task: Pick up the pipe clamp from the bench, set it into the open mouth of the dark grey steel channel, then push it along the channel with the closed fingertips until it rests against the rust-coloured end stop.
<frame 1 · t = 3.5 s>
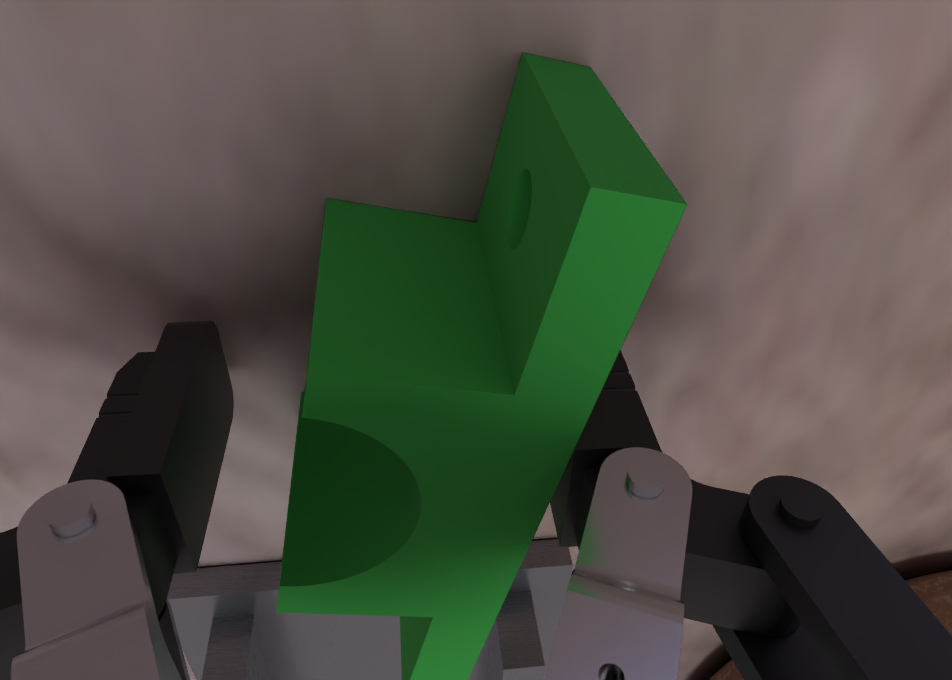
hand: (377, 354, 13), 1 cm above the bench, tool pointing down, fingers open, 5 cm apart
planter: (878, 669, 27), on the bench
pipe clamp: (414, 323, 14), on the bench, touching gripper
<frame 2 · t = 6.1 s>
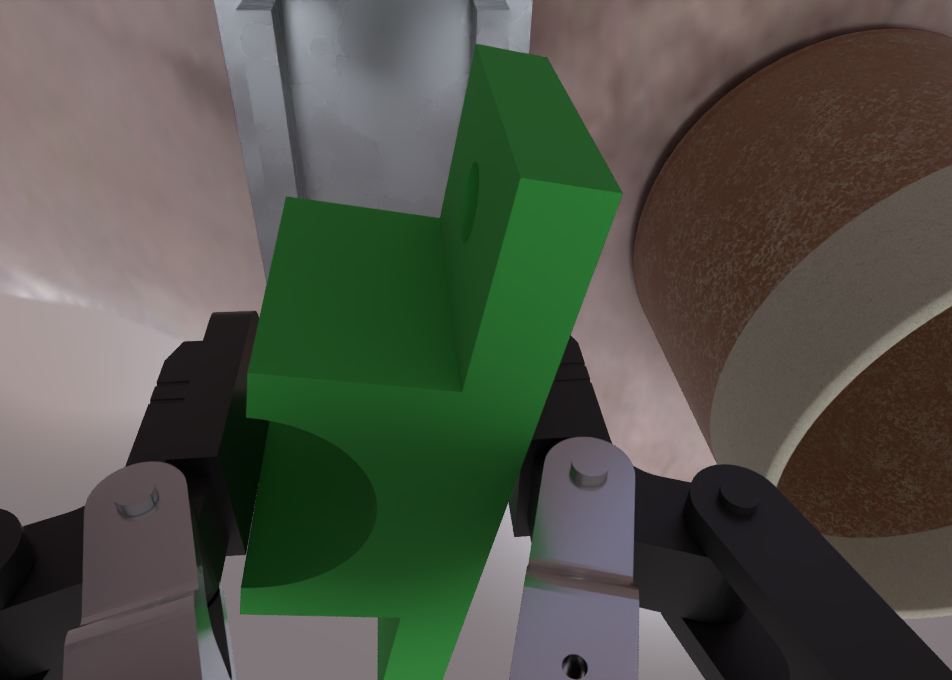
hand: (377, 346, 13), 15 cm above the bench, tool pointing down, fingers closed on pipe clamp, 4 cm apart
steel channel: (386, 174, 27), on the bench
planter: (810, 217, 31), on the bench
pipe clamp: (384, 321, 14), point 14 cm above the bench, touching gripper
when the fingers open (4 cm above the bench, at t = 8.4 s): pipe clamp drops 3 cm, resting on steel channel.
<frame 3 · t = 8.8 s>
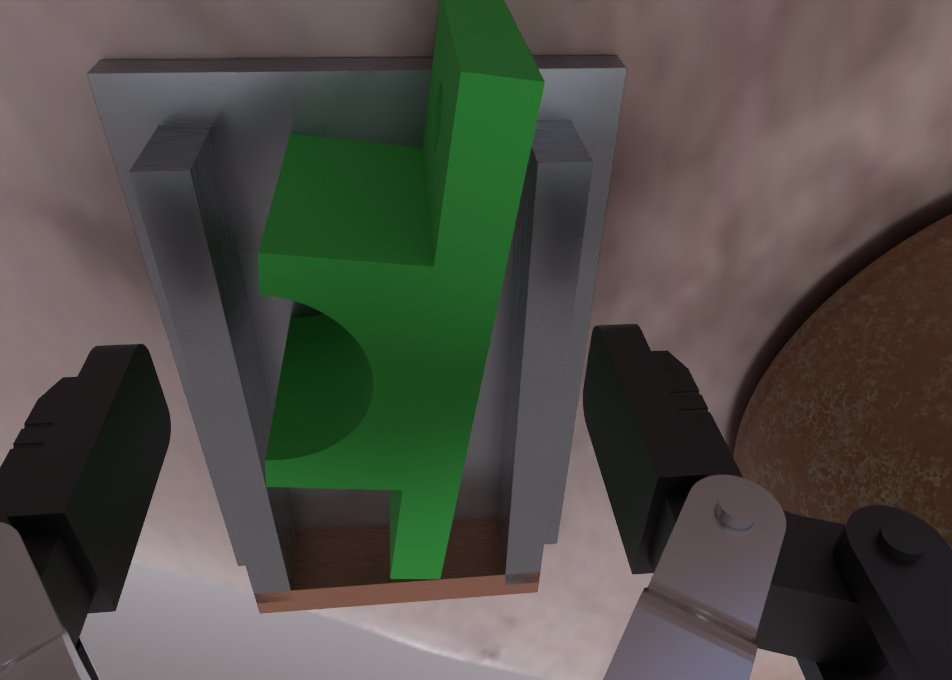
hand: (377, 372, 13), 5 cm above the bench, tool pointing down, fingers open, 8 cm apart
steel channel: (387, 354, 19), on the bench
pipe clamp: (382, 247, 16), point 1 cm above the bench, touching steel channel
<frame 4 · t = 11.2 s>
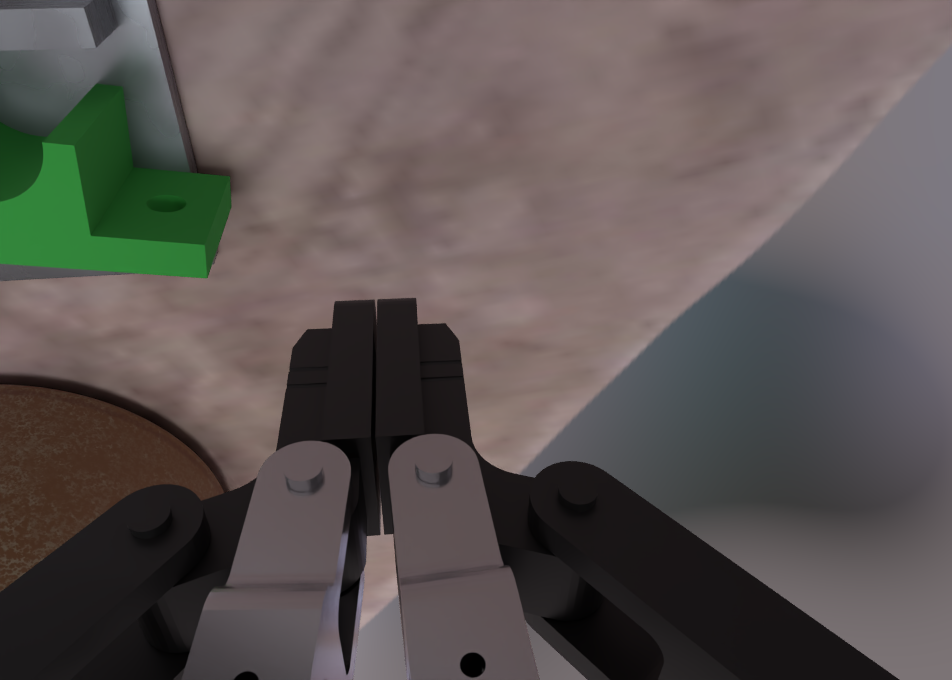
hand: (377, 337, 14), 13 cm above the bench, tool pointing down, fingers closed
planter: (56, 499, 33), on the bench
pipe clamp: (47, 137, 23), point 1 cm above the bench, touching steel channel
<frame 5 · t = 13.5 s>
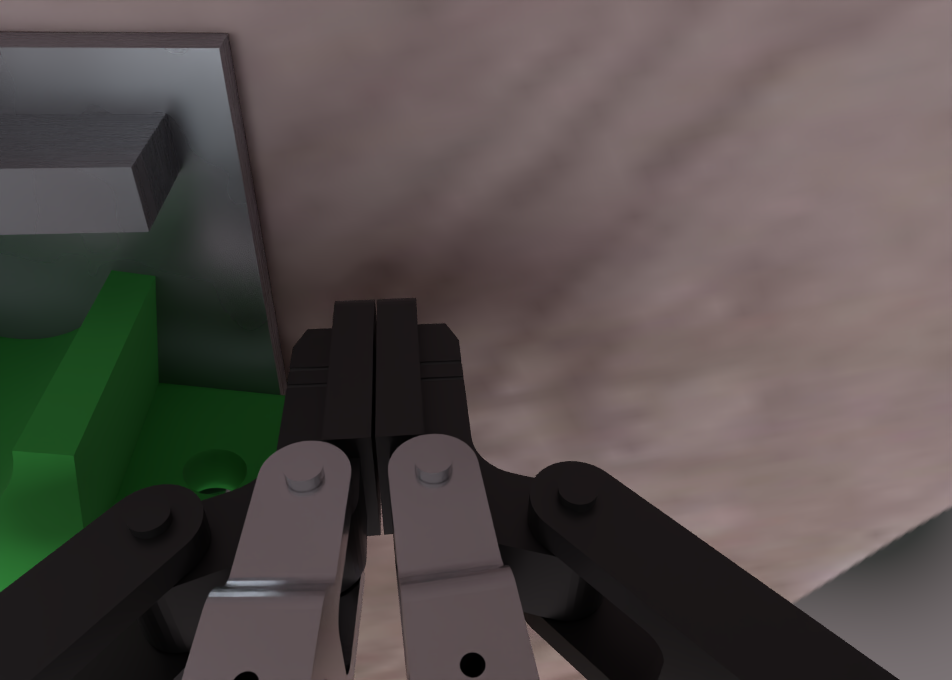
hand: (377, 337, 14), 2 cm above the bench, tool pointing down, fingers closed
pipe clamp: (22, 337, 14), point 1 cm above the bench, touching steel channel
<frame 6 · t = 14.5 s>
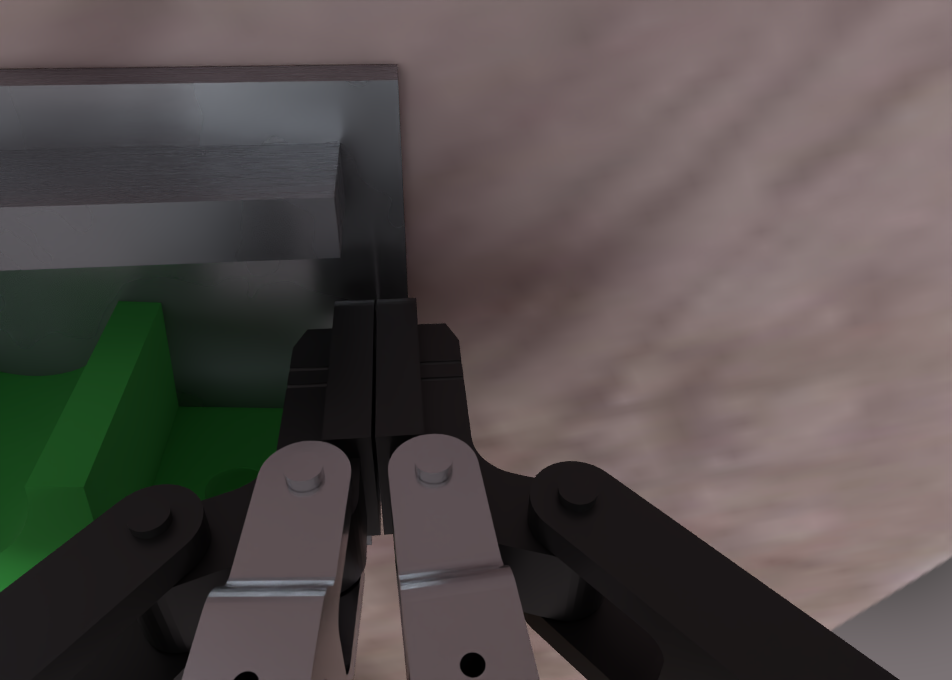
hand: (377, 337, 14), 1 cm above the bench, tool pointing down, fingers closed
steel channel: (29, 327, 14), on the bench
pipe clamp: (44, 374, 14), point 1 cm above the bench, touching gripper, steel channel
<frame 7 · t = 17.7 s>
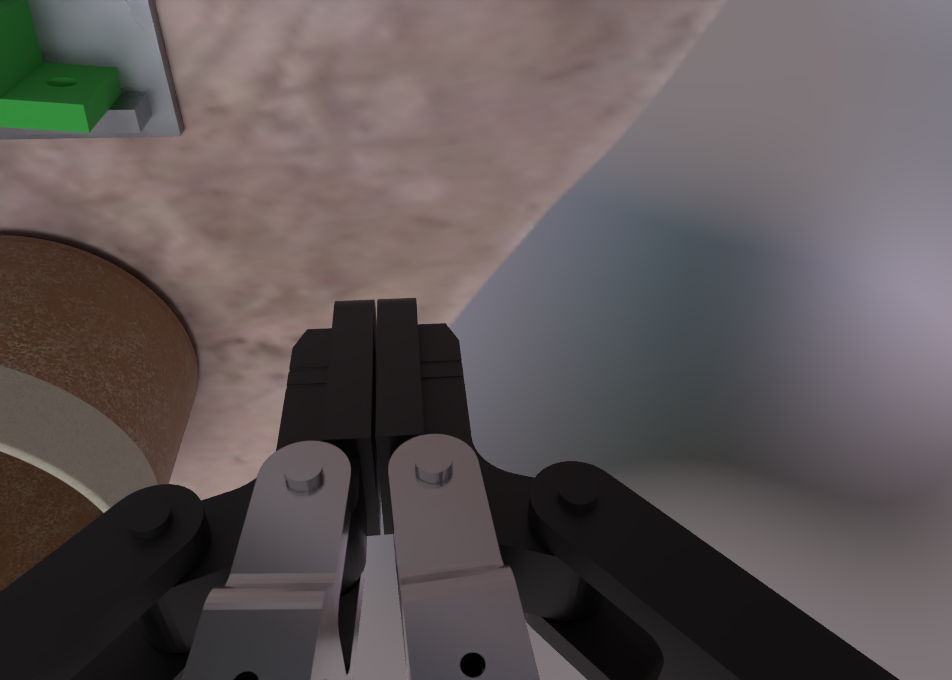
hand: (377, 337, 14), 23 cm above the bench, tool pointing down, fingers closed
planter: (55, 348, 41), on the bench
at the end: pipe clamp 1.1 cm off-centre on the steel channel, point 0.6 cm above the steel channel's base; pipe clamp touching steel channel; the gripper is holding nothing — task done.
